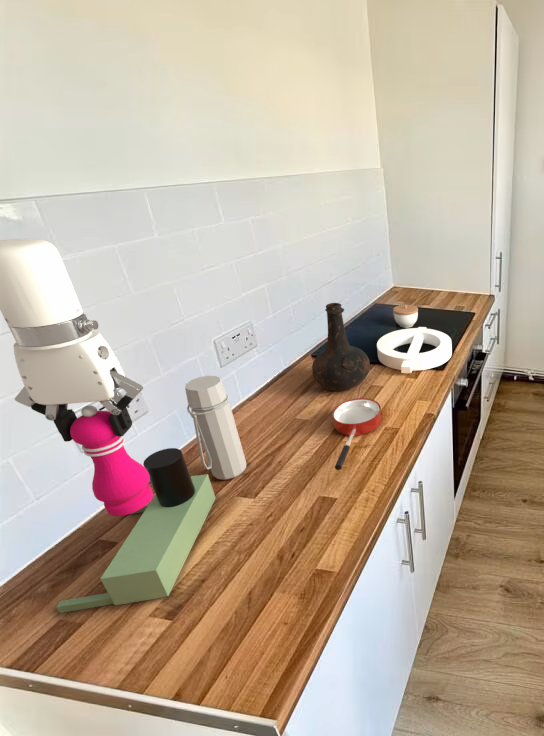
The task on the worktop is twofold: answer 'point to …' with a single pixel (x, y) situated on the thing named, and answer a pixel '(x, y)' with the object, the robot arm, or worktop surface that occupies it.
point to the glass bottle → (339, 356)
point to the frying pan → (355, 421)
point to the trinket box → (405, 315)
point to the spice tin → (169, 477)
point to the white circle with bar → (414, 349)
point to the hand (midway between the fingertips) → (99, 432)
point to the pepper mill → (111, 464)
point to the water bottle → (215, 427)
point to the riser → (152, 551)
